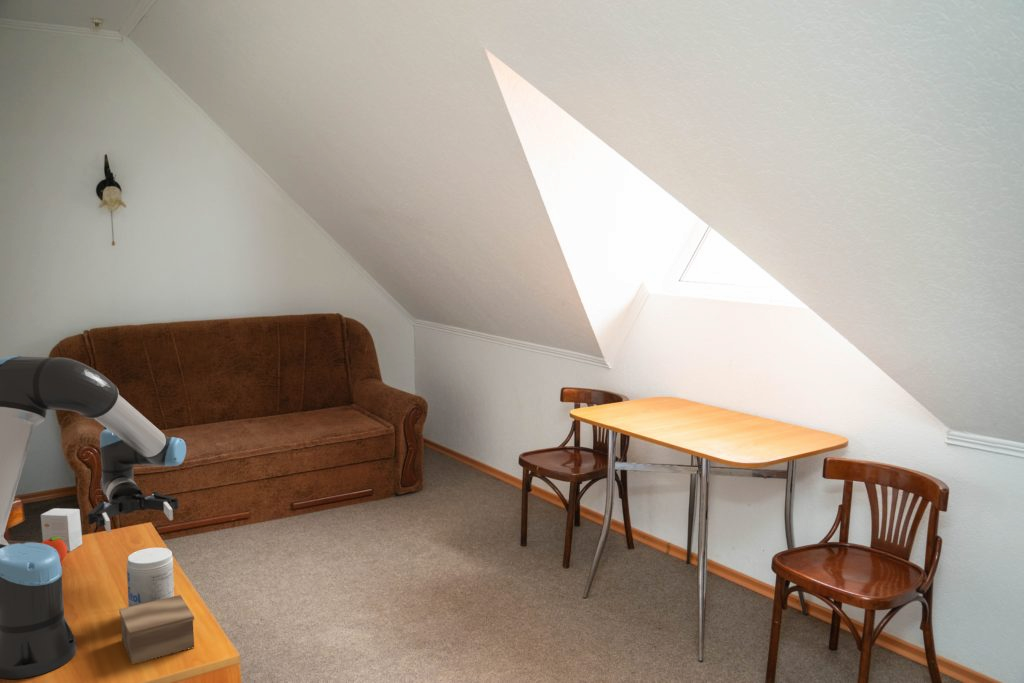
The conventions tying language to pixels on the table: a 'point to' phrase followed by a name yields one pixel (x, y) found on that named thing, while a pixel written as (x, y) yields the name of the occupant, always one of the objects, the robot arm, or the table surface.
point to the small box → (62, 526)
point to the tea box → (157, 628)
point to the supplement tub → (149, 575)
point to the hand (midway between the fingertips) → (140, 520)
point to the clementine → (57, 546)
